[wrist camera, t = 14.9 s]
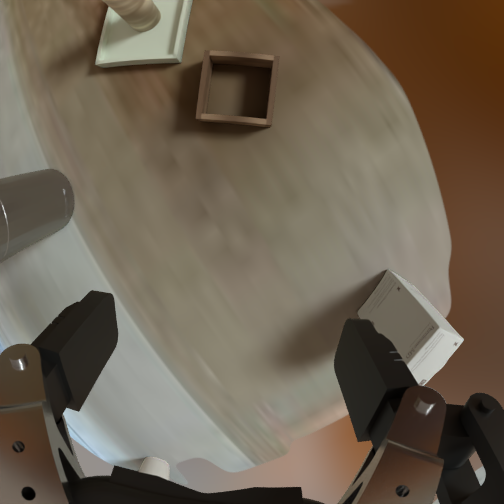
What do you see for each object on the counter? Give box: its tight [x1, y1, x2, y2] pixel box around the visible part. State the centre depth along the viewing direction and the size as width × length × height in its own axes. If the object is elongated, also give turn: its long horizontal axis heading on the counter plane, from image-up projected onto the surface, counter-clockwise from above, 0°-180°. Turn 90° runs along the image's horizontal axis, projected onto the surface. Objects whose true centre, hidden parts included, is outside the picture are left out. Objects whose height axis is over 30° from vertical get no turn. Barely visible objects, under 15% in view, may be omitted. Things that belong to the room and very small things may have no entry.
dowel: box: [102, 0, 161, 32], centre depth 22 cm, size 4×4×12 cm
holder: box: [196, 50, 280, 128], centre depth 30 cm, size 8×8×4 cm
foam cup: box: [138, 457, 169, 480], centre depth 50 cm, size 10×9×13 cm
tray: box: [95, 0, 193, 68], centre depth 27 cm, size 11×13×2 cm
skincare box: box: [357, 270, 463, 386], centre depth 34 cm, size 8×6×15 cm
